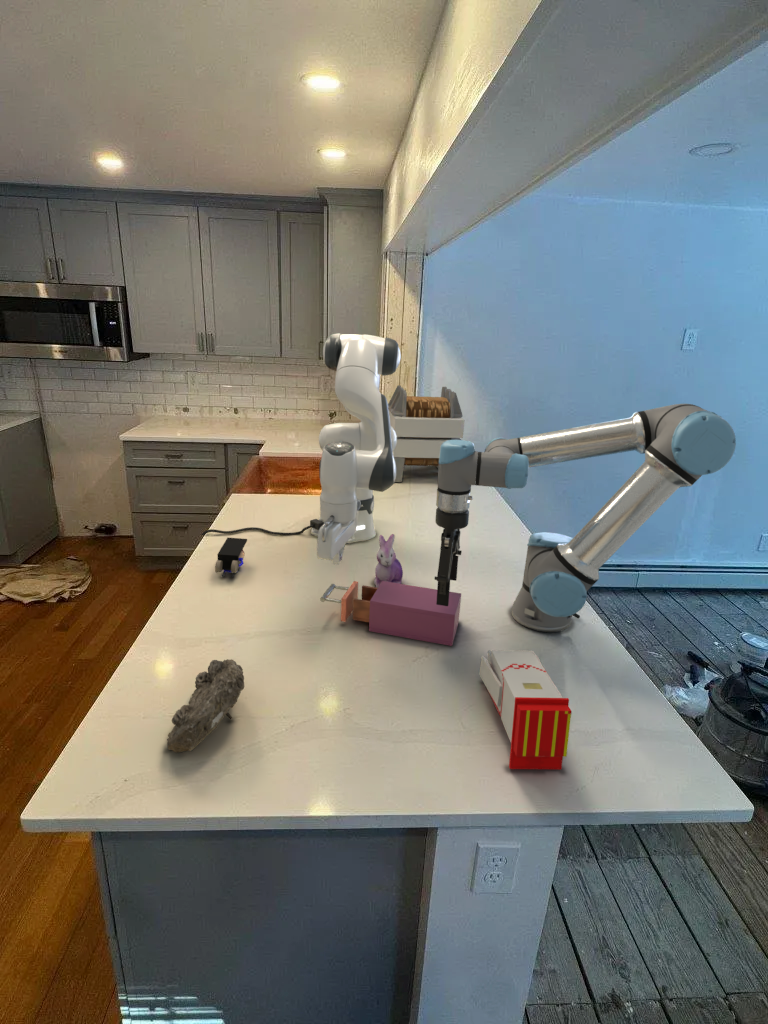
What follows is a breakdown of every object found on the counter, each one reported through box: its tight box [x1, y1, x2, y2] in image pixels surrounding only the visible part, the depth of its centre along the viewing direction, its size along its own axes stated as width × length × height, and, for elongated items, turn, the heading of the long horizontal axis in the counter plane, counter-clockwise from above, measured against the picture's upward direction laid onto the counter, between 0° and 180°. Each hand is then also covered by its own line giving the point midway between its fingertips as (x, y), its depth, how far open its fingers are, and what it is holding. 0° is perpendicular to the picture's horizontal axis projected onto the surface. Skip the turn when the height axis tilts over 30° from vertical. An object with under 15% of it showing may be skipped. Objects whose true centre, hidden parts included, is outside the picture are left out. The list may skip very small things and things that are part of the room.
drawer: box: [319, 580, 378, 623], centre depth 143 cm, size 25×10×6 cm, turn 75°
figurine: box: [373, 533, 404, 588], centre depth 160 cm, size 9×10×15 cm
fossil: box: [166, 658, 245, 754], centre depth 106 cm, size 22×10×15 cm
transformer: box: [388, 384, 465, 483], centre depth 268 cm, size 34×33×41 cm
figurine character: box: [214, 537, 248, 578], centre depth 166 cm, size 7×8×15 cm
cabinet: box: [368, 581, 462, 647], centre depth 141 cm, size 21×11×8 cm, turn 75°
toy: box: [479, 649, 572, 771], centre depth 110 cm, size 12×13×30 cm
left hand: (337, 562), depth 142 cm, fingers closed
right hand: (446, 591), depth 136 cm, fingers open, 13 cm apart
